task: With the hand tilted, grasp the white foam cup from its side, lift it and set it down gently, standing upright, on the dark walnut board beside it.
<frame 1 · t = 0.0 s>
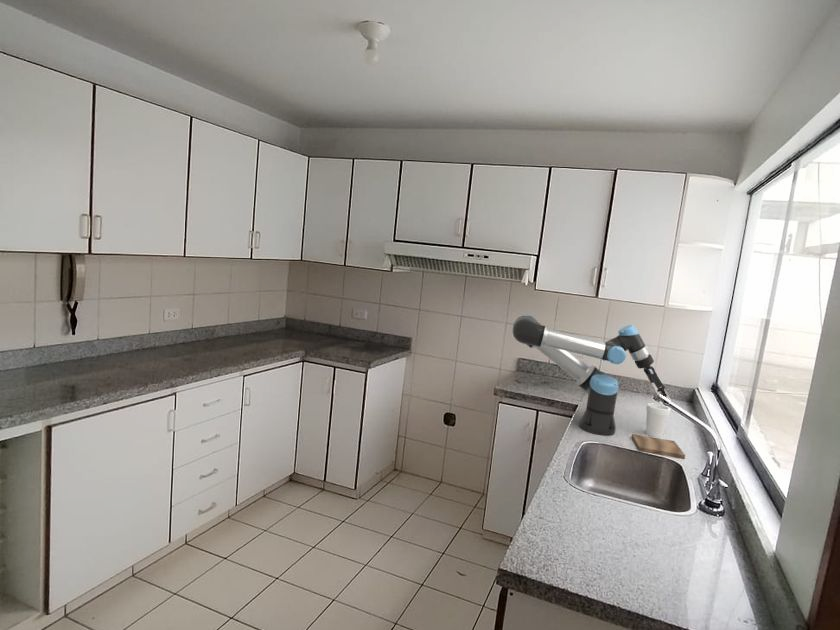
hand: (664, 398, 232), 15 cm above the counter, tool tilted 35°, fingers open, 13 cm apart
walnut board: (656, 447, 212), on the counter
foam cup: (653, 435, 228), on the counter
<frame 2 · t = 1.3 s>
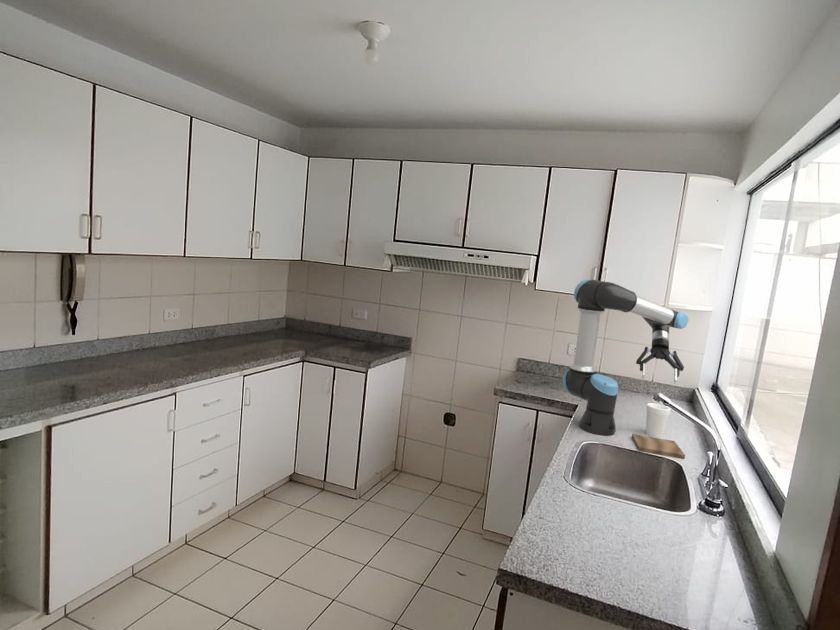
hand: (659, 379, 235), 23 cm above the counter, tool tilted 45°, fingers open, 13 cm apart
nothing on the counter moved.
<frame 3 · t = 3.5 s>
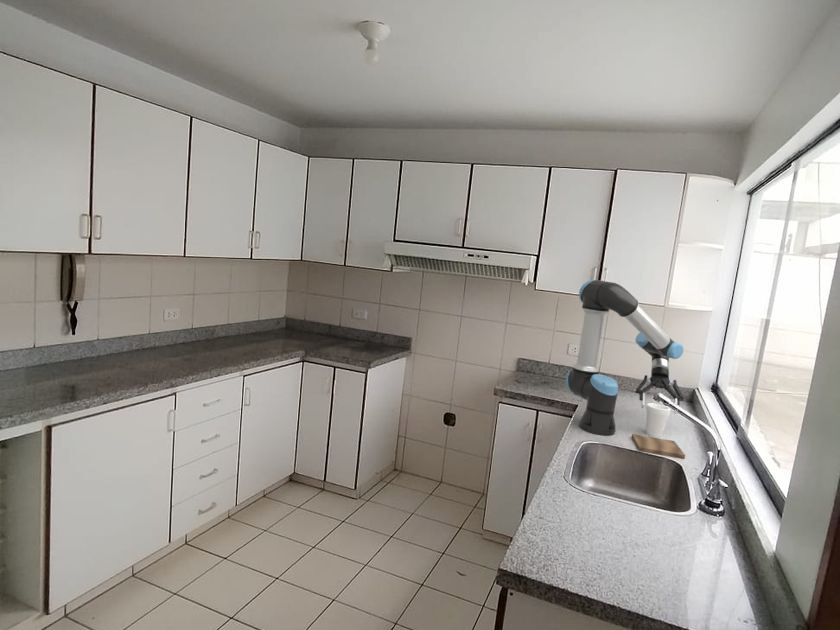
hand: (659, 409, 231), 10 cm above the counter, tool tilted 45°, fingers open, 13 cm apart
nothing on the counter moved.
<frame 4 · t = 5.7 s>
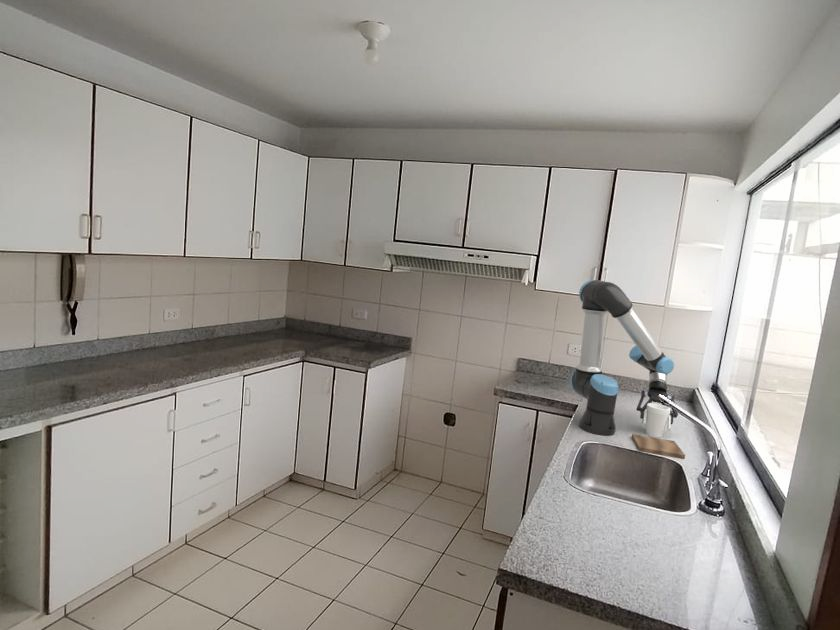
hand: (656, 427, 224), 4 cm above the counter, tool tilted 45°, fingers closed on foam cup, 9 cm apart
foam cup: (653, 435, 228), on the counter, touching gripper
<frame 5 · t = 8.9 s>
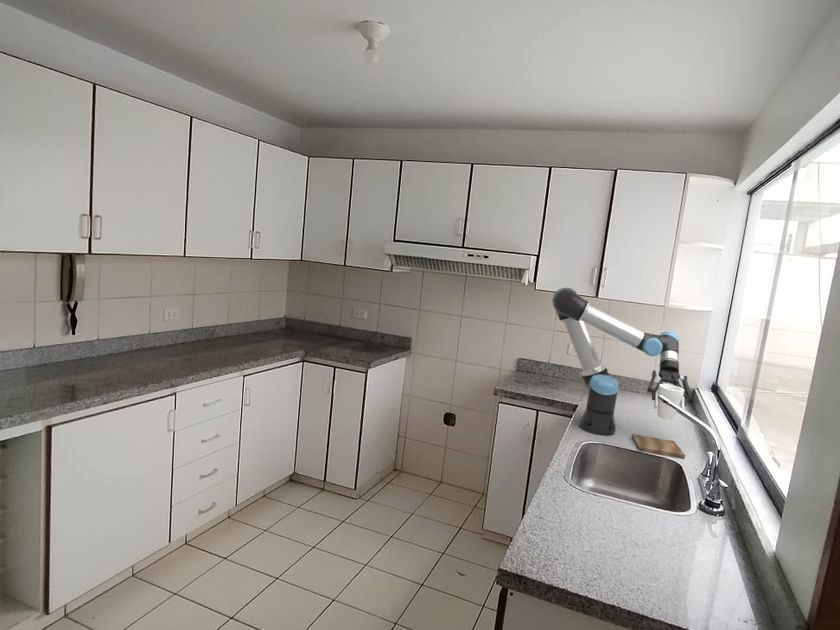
hand: (669, 409, 211), 16 cm above the counter, tool tilted 45°, fingers closed on foam cup, 9 cm apart
foam cup: (665, 417, 215), point 12 cm above the counter, touching gripper
when the fingers open (7 cm above the counter, at t = 12.1 s): foam cup drops 1 cm, resting on walnut board.
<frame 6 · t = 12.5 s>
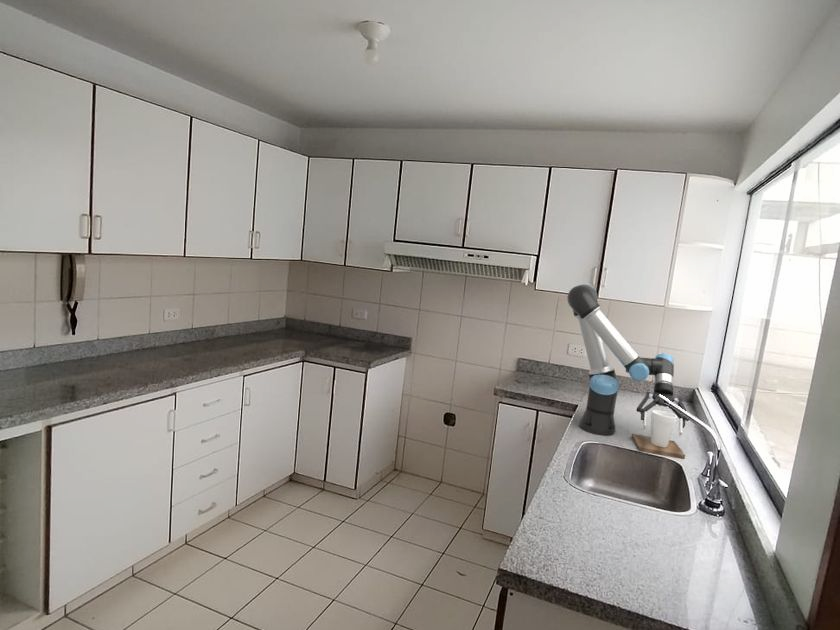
hand: (662, 430, 209), 8 cm above the counter, tool tilted 45°, fingers open, 13 cm apart
foam cup: (658, 444, 212), point 1 cm above the counter, touching walnut board
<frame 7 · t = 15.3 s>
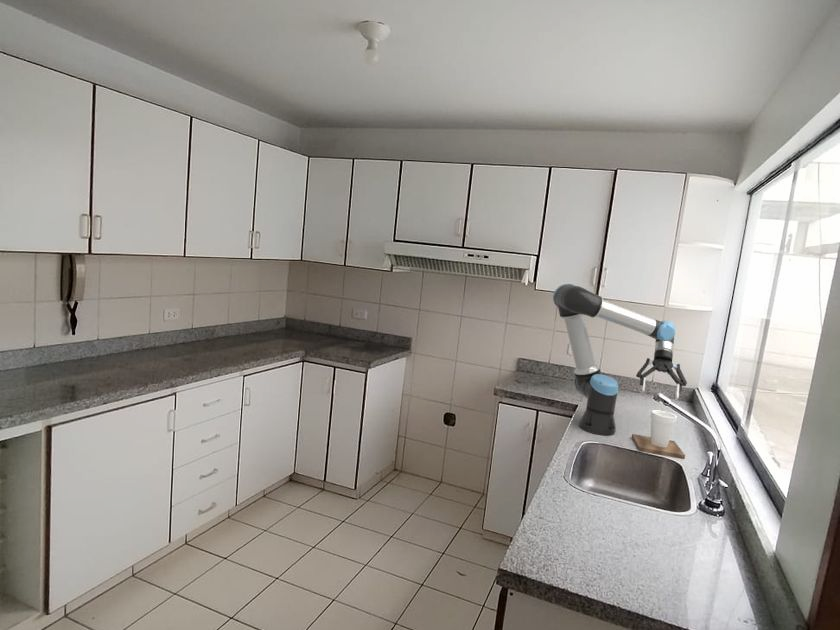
hand: (659, 395, 222), 19 cm above the counter, tool tilted 40°, fingers open, 13 cm apart
nothing on the counter moved.
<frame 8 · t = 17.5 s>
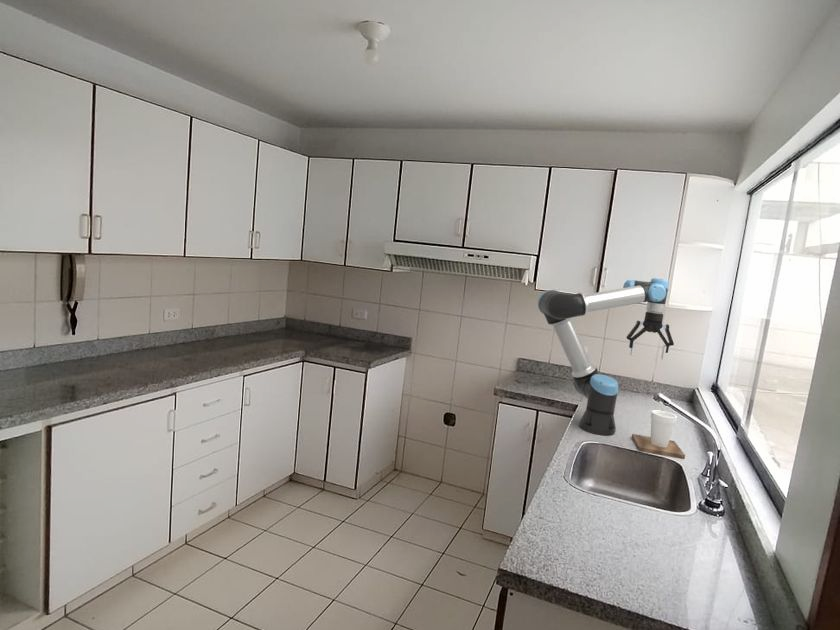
hand: (646, 357, 238), 32 cm above the counter, tool pointing down, fingers open, 13 cm apart
nothing on the counter moved.
at the end: foam cup inside the target area on the walnut board (0.5 cm from its centre), point 1.3 cm above the walnut board's base; foam cup tilted 0°; the gripper is holding nothing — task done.
